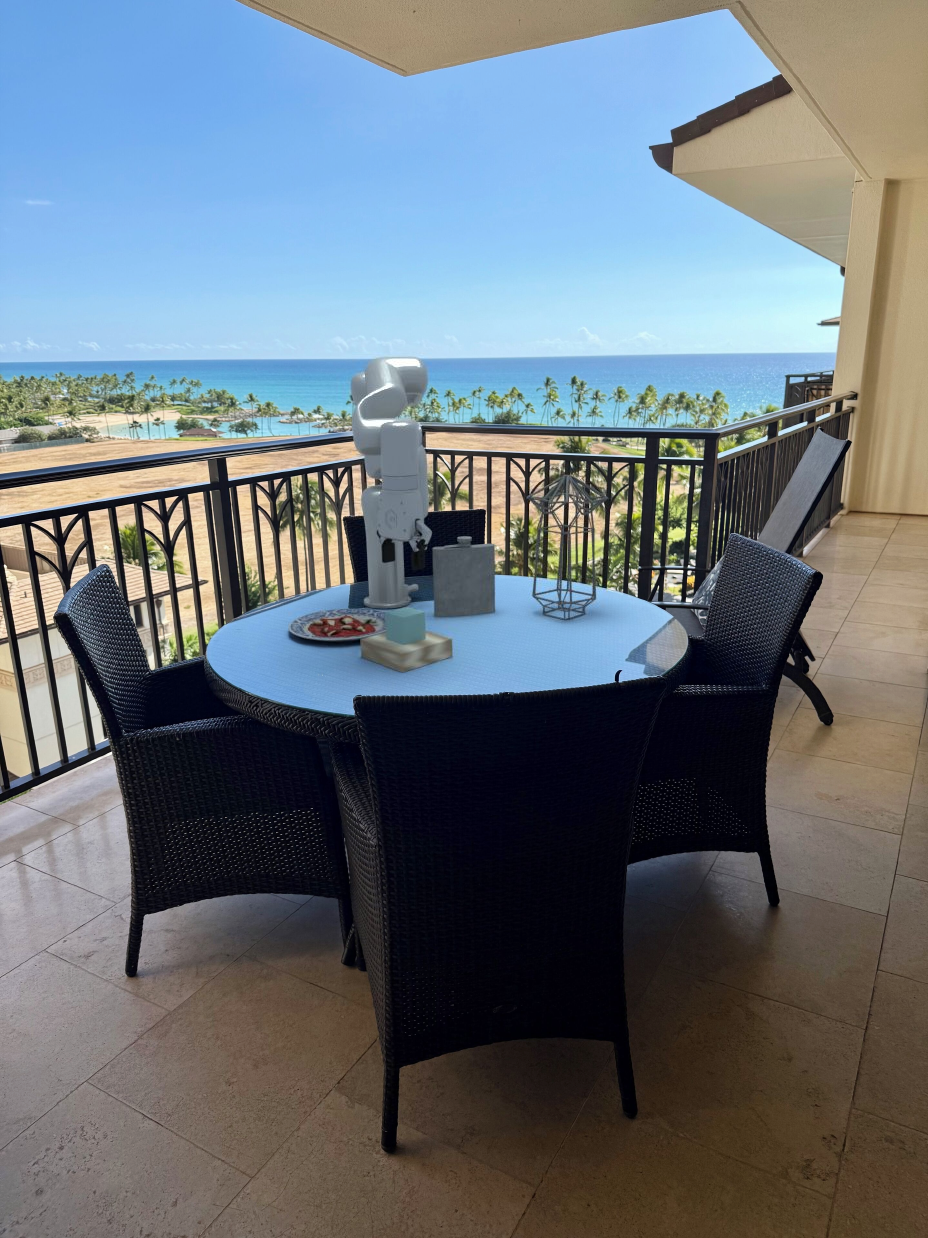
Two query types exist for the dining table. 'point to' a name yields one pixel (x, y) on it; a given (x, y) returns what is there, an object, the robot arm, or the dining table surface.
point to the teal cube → (405, 625)
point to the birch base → (406, 651)
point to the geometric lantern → (577, 489)
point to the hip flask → (464, 579)
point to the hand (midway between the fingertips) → (403, 565)
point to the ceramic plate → (339, 624)
